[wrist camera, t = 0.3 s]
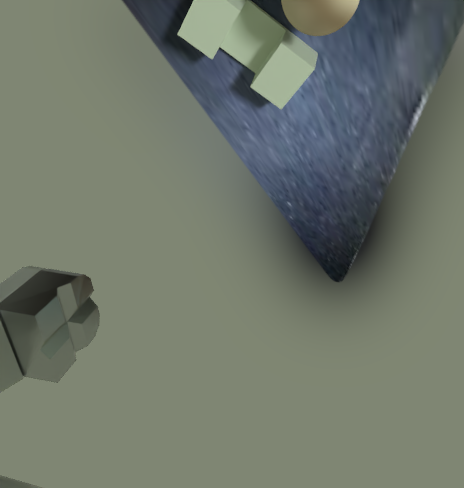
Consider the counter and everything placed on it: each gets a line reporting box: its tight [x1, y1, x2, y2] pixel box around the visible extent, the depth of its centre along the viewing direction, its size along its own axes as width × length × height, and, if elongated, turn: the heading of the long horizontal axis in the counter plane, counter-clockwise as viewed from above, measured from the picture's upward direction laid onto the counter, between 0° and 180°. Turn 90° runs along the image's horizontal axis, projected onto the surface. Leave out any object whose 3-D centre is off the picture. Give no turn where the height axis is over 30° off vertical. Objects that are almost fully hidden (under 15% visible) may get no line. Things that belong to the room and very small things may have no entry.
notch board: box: [177, 0, 318, 109], centre depth 52 cm, size 7×16×5 cm, turn 58°
